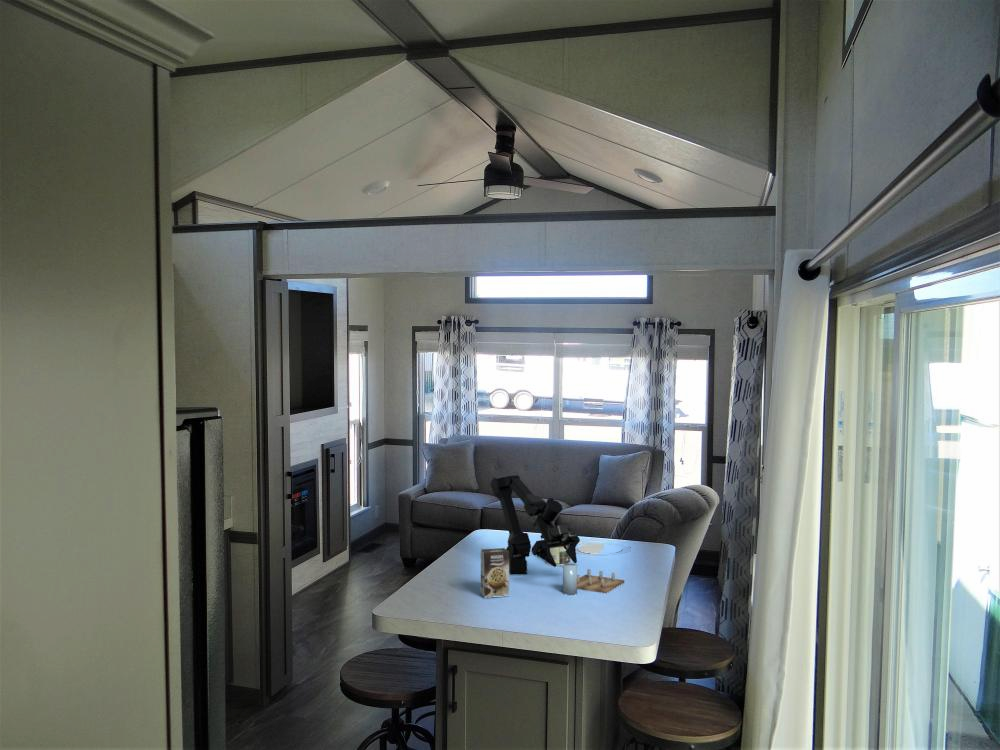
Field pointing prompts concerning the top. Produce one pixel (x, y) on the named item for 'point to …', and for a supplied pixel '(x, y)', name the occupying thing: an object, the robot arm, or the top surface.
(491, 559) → the brown food box
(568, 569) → the grey dome-topped cylinder
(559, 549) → the coffee can
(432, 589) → the top surface
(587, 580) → the dish rack
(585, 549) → the plate
